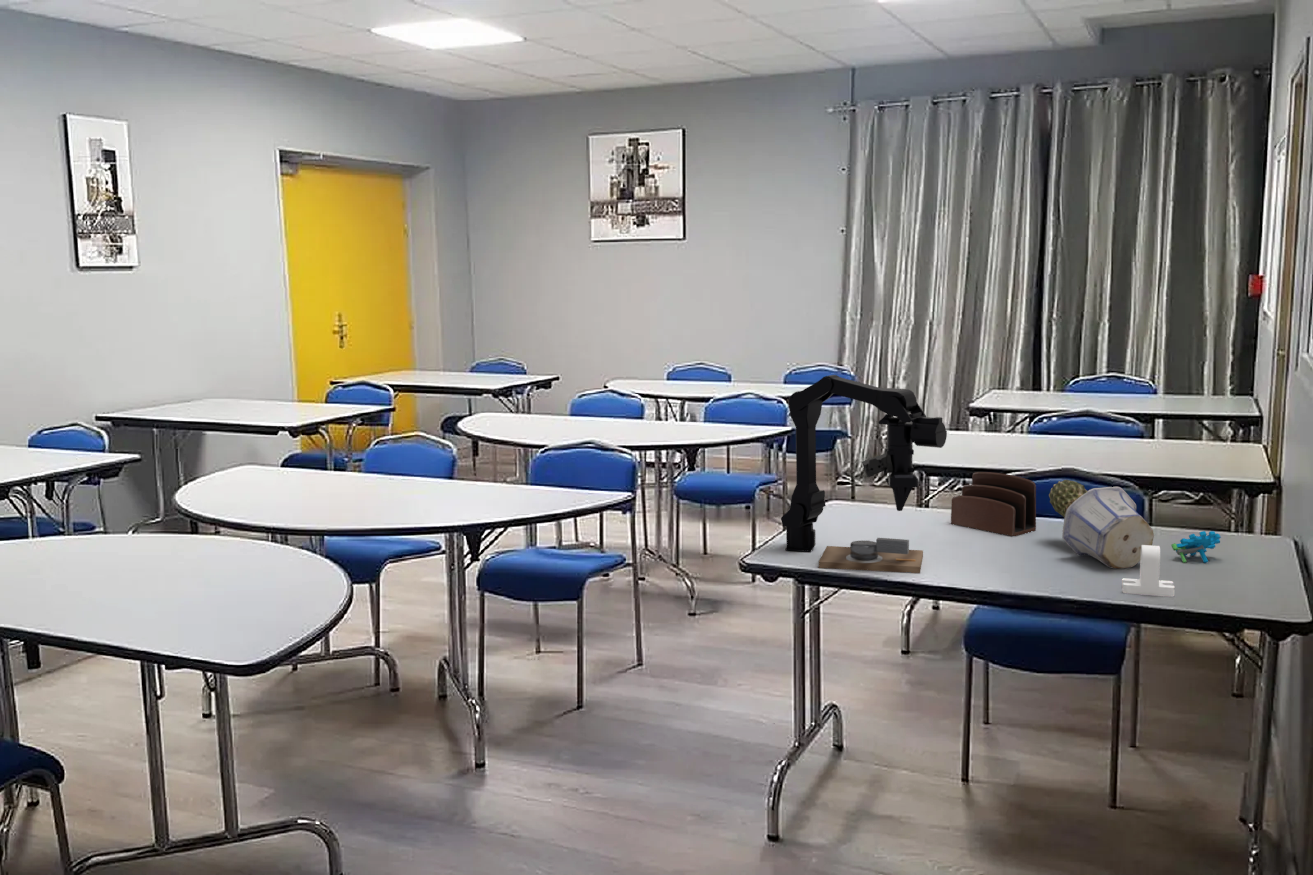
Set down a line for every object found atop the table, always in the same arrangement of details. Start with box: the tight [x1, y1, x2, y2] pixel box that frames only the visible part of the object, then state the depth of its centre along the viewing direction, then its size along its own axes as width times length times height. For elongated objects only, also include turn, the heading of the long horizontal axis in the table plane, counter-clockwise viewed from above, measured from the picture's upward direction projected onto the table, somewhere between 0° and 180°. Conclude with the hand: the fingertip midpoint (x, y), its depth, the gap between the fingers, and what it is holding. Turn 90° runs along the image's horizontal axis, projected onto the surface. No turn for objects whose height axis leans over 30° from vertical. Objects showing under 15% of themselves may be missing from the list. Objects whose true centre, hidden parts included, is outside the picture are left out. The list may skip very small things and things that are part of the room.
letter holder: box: [950, 471, 1037, 537], centre depth 290 cm, size 10×20×14 cm, turn 37°
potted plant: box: [1048, 479, 1155, 570], centre depth 261 cm, size 18×18×30 cm
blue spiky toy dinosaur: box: [1170, 530, 1222, 564], centre depth 254 cm, size 11×6×10 cm
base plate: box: [818, 545, 924, 574], centre depth 260 cm, size 23×15×2 cm, turn 74°
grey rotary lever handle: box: [849, 537, 910, 560], centre depth 256 cm, size 13×6×4 cm, turn 67°
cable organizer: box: [1121, 544, 1176, 598], centre depth 231 cm, size 5×10×10 cm, turn 70°
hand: (899, 510), depth 255 cm, fingers closed
